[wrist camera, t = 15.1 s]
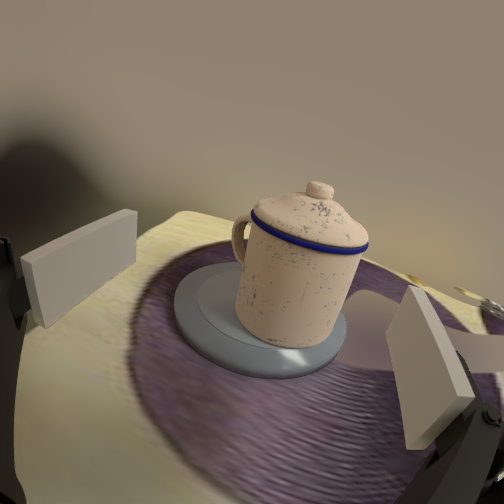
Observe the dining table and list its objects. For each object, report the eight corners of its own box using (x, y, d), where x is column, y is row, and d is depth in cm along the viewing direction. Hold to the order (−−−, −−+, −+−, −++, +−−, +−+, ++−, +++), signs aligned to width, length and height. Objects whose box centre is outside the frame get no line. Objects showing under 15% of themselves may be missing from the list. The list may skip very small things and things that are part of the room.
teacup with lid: (349, 324, 25) (395, 204, 21) (293, 371, 19) (352, 208, 14) (256, 268, 32) (280, 163, 27) (189, 289, 26) (207, 157, 21)
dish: (339, 295, 33) (342, 285, 32) (343, 399, 18) (350, 388, 18) (210, 258, 35) (211, 249, 34) (139, 336, 20) (138, 323, 20)
